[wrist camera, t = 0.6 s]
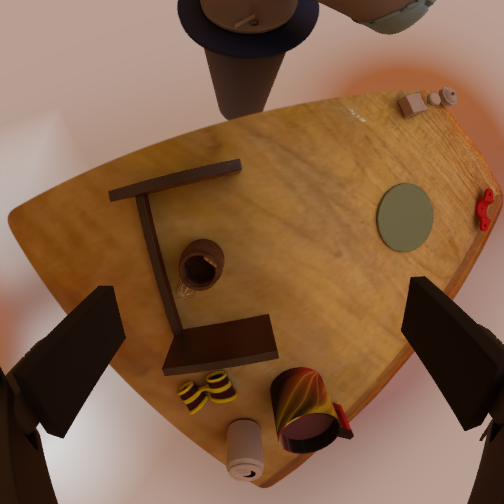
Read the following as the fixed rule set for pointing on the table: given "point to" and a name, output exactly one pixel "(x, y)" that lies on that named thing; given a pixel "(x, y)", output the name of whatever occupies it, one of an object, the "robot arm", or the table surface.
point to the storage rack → (188, 340)
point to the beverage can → (244, 451)
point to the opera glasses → (216, 386)
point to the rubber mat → (405, 217)
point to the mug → (306, 412)
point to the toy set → (416, 105)
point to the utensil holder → (201, 265)
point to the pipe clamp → (484, 209)
